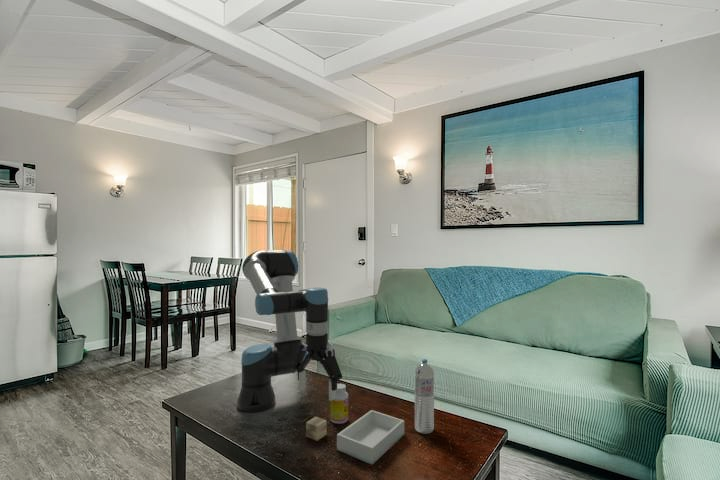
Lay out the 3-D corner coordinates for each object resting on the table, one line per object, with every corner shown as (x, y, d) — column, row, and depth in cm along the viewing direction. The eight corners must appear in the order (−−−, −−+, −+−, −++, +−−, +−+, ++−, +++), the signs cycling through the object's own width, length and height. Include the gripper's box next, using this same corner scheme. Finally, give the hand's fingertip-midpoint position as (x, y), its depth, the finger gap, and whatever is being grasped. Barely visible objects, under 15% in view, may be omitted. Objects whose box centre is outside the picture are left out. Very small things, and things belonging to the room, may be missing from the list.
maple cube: (306, 436, 127) (306, 422, 127) (315, 430, 132) (315, 416, 131) (317, 441, 125) (317, 426, 125) (326, 434, 129) (326, 420, 129)
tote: (336, 449, 119) (336, 434, 119) (371, 423, 136) (371, 409, 136) (372, 464, 112) (372, 448, 112) (404, 434, 129) (404, 420, 129)
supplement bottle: (345, 425, 135) (345, 390, 135) (328, 423, 136) (328, 388, 136) (349, 416, 141) (350, 383, 141) (333, 414, 143) (333, 381, 143)
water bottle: (435, 426, 134) (435, 358, 134) (432, 436, 128) (432, 364, 128) (416, 423, 137) (416, 355, 136) (412, 432, 130) (413, 361, 130)
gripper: (283, 330, 132) (283, 389, 132) (338, 341, 118) (338, 407, 118) (298, 325, 138) (298, 382, 138) (352, 336, 124) (352, 399, 124)
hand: (316, 394), depth 128 cm, fingers open, 13 cm apart
